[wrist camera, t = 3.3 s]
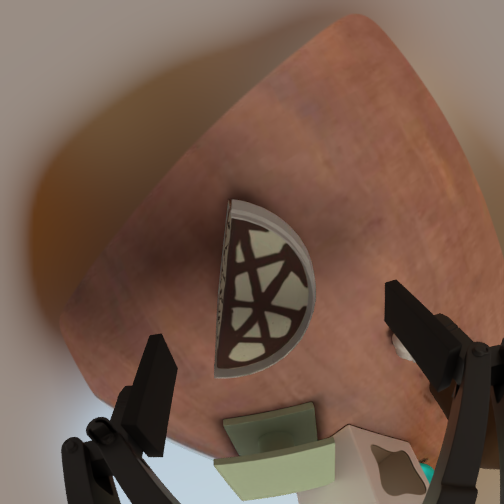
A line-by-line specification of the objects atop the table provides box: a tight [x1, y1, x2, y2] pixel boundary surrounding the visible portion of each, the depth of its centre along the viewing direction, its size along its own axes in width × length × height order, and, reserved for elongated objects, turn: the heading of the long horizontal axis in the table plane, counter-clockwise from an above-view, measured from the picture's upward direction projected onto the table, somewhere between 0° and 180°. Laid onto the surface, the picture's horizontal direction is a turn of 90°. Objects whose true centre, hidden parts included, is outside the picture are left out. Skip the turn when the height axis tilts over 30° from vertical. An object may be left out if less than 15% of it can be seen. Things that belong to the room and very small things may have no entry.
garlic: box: [392, 334, 415, 363], centre depth 29 cm, size 6×5×5 cm
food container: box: [214, 199, 316, 378], centre depth 22 cm, size 12×6×10 cm, turn 172°
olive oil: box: [430, 378, 500, 469], centre depth 25 cm, size 11×11×25 cm
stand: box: [214, 402, 335, 501], centre depth 33 cm, size 14×14×8 cm
